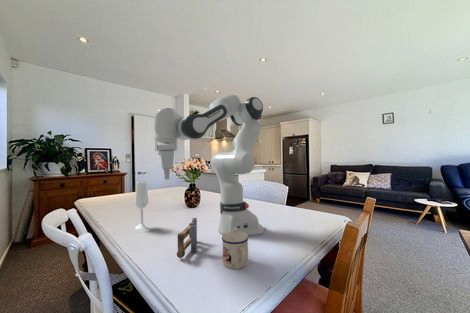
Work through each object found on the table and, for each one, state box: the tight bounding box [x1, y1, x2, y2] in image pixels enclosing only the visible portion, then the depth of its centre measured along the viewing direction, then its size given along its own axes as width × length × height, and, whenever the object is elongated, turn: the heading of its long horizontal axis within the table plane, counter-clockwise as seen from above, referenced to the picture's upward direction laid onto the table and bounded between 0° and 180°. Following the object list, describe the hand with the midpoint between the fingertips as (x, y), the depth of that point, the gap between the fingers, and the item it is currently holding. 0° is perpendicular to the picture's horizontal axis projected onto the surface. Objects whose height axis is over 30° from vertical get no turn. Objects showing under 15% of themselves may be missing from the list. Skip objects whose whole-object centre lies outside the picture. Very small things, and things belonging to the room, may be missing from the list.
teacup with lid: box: [221, 228, 249, 270], centre depth 66 cm, size 12×9×12 cm
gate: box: [176, 222, 194, 259], centre depth 76 cm, size 13×3×8 cm, turn 173°
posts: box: [190, 217, 198, 254], centre depth 80 cm, size 3×11×10 cm, turn 4°
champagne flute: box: [134, 181, 149, 230], centre depth 105 cm, size 7×7×24 cm
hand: (166, 179), depth 83 cm, fingers closed
